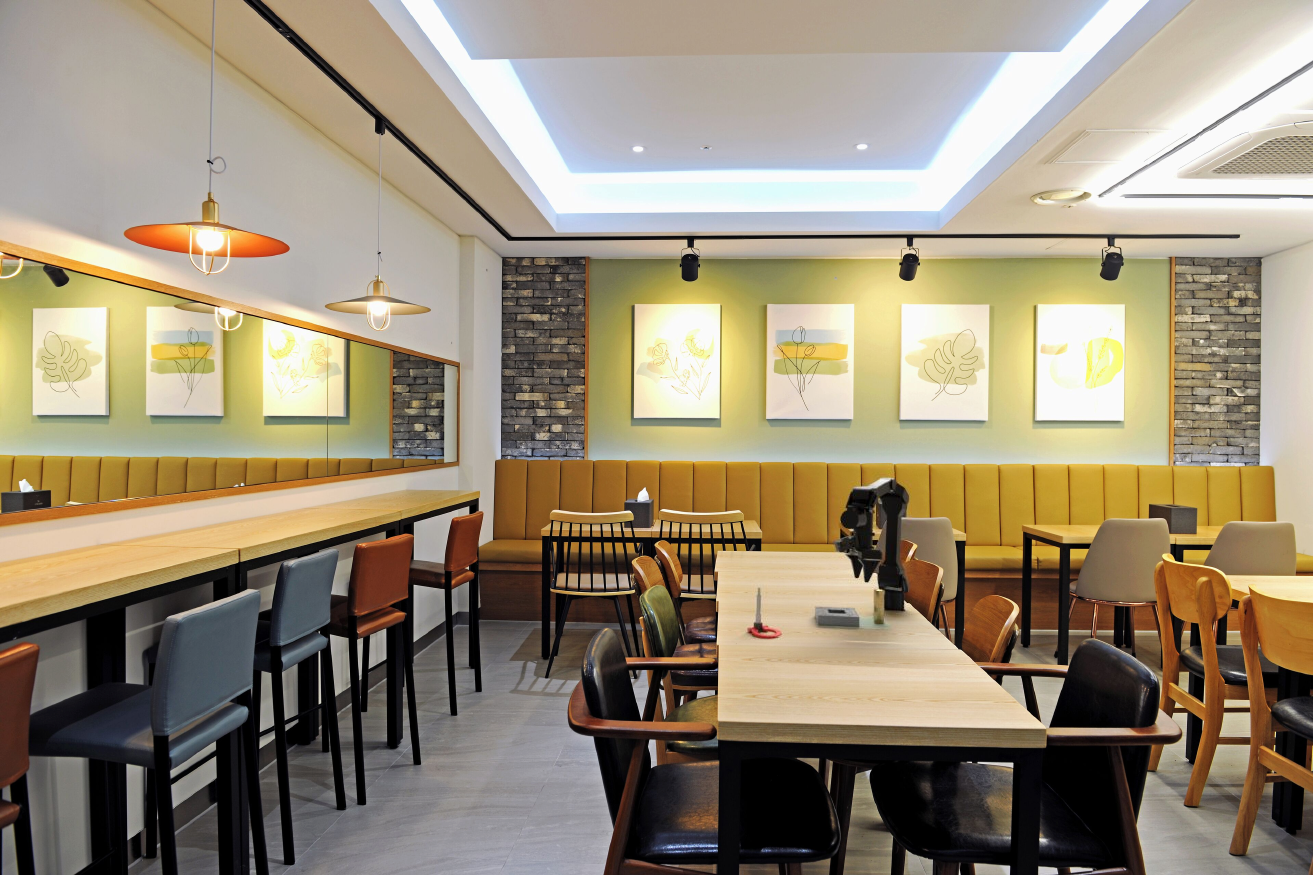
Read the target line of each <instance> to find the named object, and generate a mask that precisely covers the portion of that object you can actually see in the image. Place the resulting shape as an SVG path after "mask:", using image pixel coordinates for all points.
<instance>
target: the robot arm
mask: <svg viewBox="0 0 1313 875" xmlns="http://www.w3.org/2000/svg"><path fill="white" fill-rule="evenodd" d="M879 500H880V502H881V509H882V510H883V512H884V514H885V515H886V519H885V520H886V521H885V522H886V524H885V543H884V544H885V546H884V548H885V549H884V560H883V552H882V551H881V549H878V548H875V546H874V545H873V537H875V536H876V532H874V531H873V530H874V514H875V513H876V511H875V509H874V508H876V506H877V504H878V502H879ZM909 502H910V495H909V492H908V491H907V489H906V487H904V486H903V485H901V484H900V483H898V482H897V480H896V479H895V478H892V477H881V478H878V480H876V481H874V482H872V483H870V484H868V485H867V486H864V485H863V486H854V487H853V488H852V489H851V491H850V493H849V496H848V498H847V502H846V505H845V511H843V512H842V513H841V515H840V517H839V518H840V524H841V526H842V527H843V528H845V529H847V530H851V531H850V533H849V535H848V536H845V537H841V538H838V539H836V540H833V544H834V548H835V551H836V552H838V553H843V554H844V555H845V557H847V558H848V559H849V560H850V564H851V568H852V570H853V571H852V573H853V576H854V579H859V578H860V575H861V572H863V574H862V575H863V581H864V583H866V584H867V583H869V582H870V581H871V578H872V576H873V574H874V573H875V570H876V569H877V567H878V572H877V576H876V577H877V578H876V579H877V588H878V589H882V590H884V611H890V612H891V611H892V612H894V611H895V612H907V611H906V608H905V594H908V593H909V590H910V583H909V581H908V579H907V577H906V573H905V572H906V571H905V567H904V566H903V563H902V562H901V542H902V541H901V540H902V537H901V536H902V517H903V516H904V514H905V512H906V511H907V510H908V504H909ZM881 560H883V561H882V563H881ZM880 563H881V564H880Z"/></svg>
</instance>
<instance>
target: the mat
mask: <svg viewBox="0 0 1313 875" xmlns="http://www.w3.org/2000/svg"><path fill="white" fill-rule="evenodd" d="M815 620H816V619H815ZM816 622H817V620H816ZM817 626H818V627H819V628H834V629H835V628H837V629H838V628H840V629H862V630H863V629H865V630H886V631H888V630H889V631H892V628H891V627H890V625H889V623H887V620H886V619H885V618H884V624H875V623H874V616H859V627H844V626H819V625H818V624H817Z"/></svg>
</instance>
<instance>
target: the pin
mask: <svg viewBox="0 0 1313 875" xmlns="http://www.w3.org/2000/svg"><path fill="white" fill-rule="evenodd" d="M873 617H874V623H875V624H884V619H885V610H884V590H882V589H879V588H874V589H873Z"/></svg>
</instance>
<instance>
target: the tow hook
mask: <svg viewBox="0 0 1313 875" xmlns="http://www.w3.org/2000/svg"><path fill="white" fill-rule="evenodd" d="M761 604H762V595H761V587H757V594H756V613H755V621H754V622H753V626H752V627H747V633H749V634H750V633H751V634H752V636H753V637H756V638H758V639H759V638H760V639H767V640H769V639H772V640H773V639H778V638H779V639H780V637H781V636H782V630H780V629H776V628H774V627H773V628H772V627H769V625H767V624H764V625H763V622H762V613H761V611H762V610H761V608H762V605H761ZM762 631H763V632H773V633H774V634H764V633H759V632H762Z"/></svg>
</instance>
